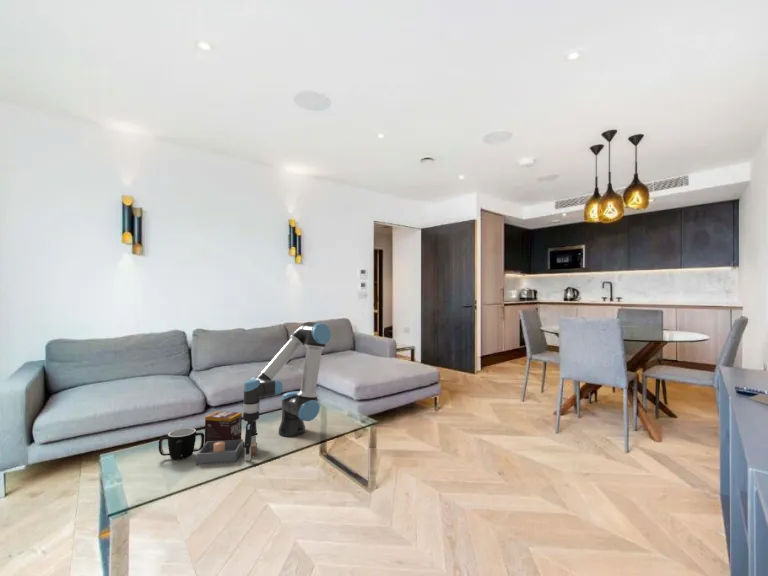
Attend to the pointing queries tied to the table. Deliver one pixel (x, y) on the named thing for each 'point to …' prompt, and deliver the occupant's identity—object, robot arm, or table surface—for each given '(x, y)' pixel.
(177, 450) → the mug
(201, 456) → the tray
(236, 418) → the supplement box
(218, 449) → the terracotta canister
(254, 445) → the walnut cube
